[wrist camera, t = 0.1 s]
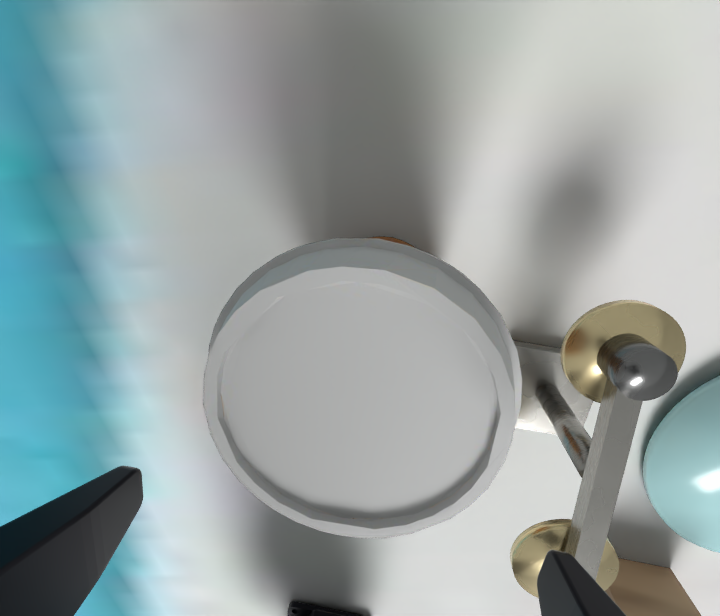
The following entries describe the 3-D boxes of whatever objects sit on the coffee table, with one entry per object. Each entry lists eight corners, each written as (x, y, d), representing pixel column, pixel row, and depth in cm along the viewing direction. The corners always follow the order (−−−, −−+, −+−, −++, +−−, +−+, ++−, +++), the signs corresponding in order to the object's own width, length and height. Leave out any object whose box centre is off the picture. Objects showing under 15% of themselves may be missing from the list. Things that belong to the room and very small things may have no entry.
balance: (550, 489, 25) (621, 647, 17) (471, 474, 25) (501, 621, 17) (630, 276, 20) (785, 349, 12) (532, 261, 21) (615, 322, 12)
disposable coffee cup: (448, 182, 20) (500, 197, 9) (482, 351, 23) (557, 532, 11) (274, 231, 22) (129, 297, 10) (325, 382, 24) (254, 564, 13)
